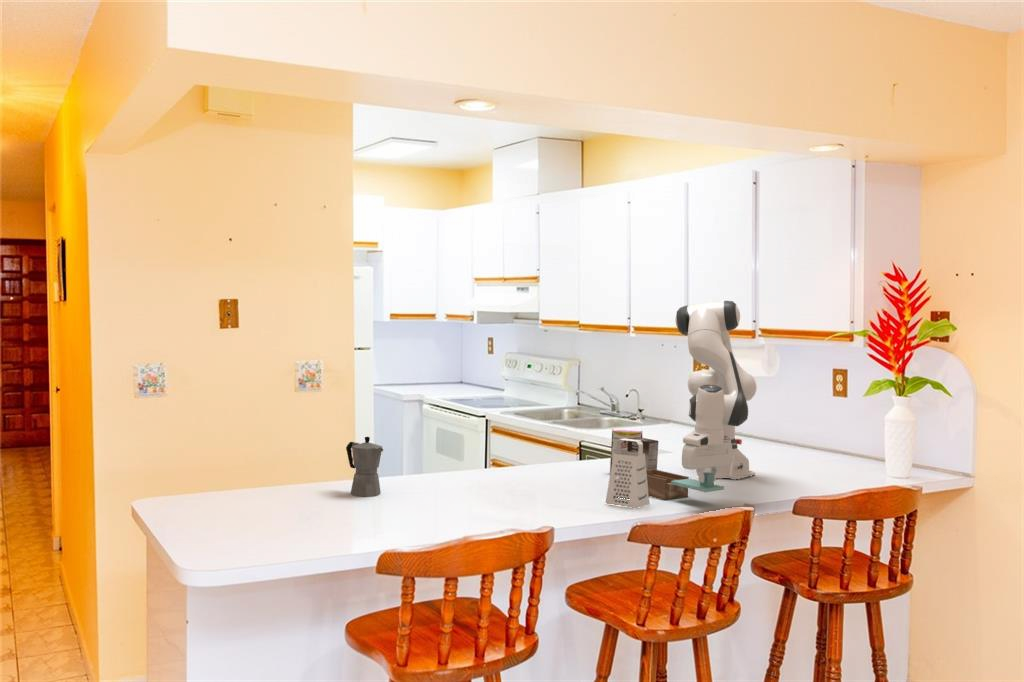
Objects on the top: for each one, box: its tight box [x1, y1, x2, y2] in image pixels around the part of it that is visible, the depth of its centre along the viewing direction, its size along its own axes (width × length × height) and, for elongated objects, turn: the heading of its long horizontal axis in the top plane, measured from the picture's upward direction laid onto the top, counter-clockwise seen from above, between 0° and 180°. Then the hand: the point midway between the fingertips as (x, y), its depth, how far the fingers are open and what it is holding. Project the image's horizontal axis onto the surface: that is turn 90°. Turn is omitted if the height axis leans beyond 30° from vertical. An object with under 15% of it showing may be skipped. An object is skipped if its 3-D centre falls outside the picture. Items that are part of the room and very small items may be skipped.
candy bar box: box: [609, 428, 643, 474], centre depth 331 cm, size 11×5×16 cm, turn 84°
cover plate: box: [671, 472, 725, 493], centre depth 286 cm, size 8×14×5 cm, turn 37°
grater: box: [604, 438, 650, 509], centre depth 282 cm, size 10×10×20 cm
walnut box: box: [646, 469, 690, 501], centre depth 299 cm, size 11×16×6 cm
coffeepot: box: [345, 436, 384, 498], centre depth 284 cm, size 15×9×18 cm, turn 54°
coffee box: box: [627, 437, 659, 470], centre depth 312 cm, size 9×6×16 cm
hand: (707, 481), depth 283 cm, fingers closed on cover plate, 3 cm apart
